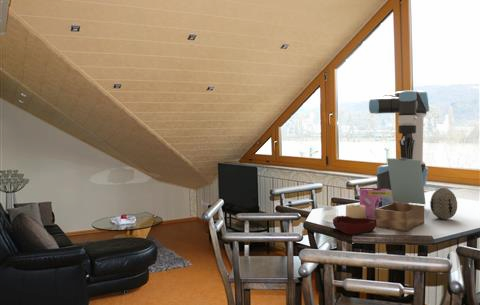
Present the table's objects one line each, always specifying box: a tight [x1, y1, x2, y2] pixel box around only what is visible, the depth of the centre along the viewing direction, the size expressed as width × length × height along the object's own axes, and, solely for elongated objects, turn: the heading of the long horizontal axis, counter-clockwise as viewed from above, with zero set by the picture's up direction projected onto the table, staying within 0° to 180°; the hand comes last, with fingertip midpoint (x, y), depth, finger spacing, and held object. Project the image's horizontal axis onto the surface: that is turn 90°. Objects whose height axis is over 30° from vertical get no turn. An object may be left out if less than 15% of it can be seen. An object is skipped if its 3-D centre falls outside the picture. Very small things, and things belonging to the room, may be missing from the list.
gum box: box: [359, 187, 410, 218], centre depth 212 cm, size 24×8×14 cm, turn 74°
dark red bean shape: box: [332, 215, 377, 236], centre depth 180 cm, size 18×16×5 cm
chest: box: [374, 203, 425, 233], centre depth 191 cm, size 14×22×8 cm, turn 139°
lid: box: [386, 157, 426, 205], centre depth 195 cm, size 15×23×2 cm
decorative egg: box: [429, 187, 458, 220], centre depth 203 cm, size 12×12×15 cm
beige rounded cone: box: [345, 203, 366, 218], centre depth 202 cm, size 9×9×7 cm
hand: (406, 176), depth 196 cm, fingers closed
